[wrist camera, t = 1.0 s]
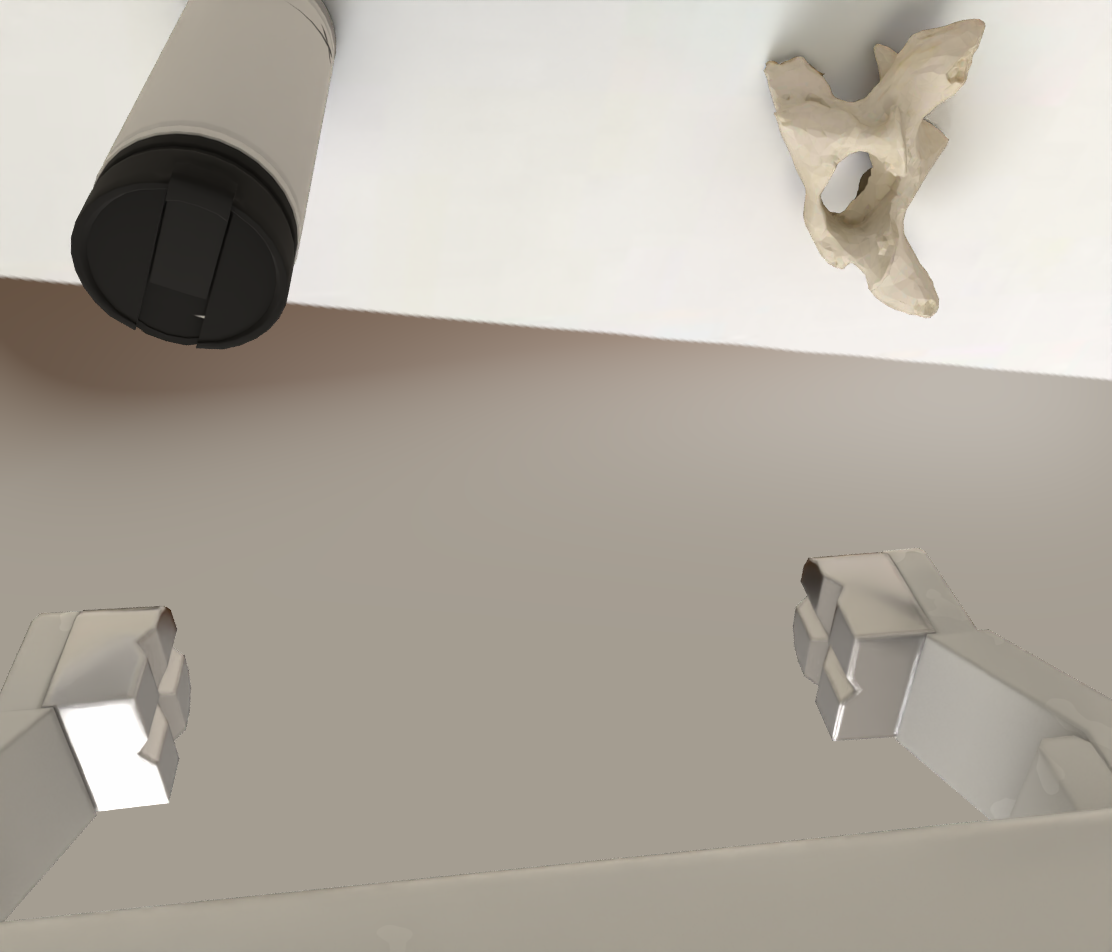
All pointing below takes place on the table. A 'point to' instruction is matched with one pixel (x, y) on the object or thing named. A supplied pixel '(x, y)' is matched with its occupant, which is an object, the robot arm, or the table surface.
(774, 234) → the table surface
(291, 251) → the travel mug
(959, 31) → the bone
